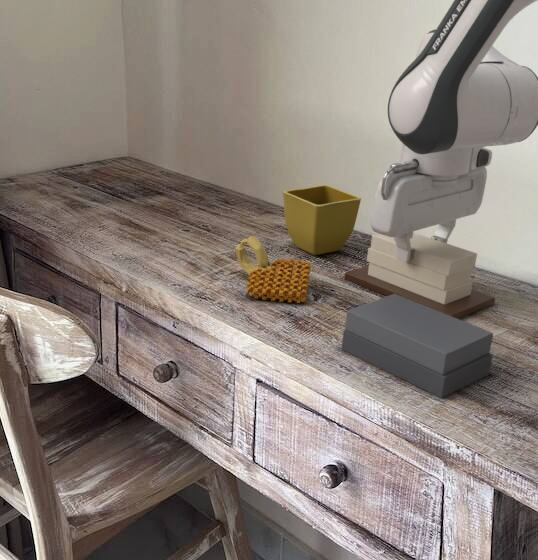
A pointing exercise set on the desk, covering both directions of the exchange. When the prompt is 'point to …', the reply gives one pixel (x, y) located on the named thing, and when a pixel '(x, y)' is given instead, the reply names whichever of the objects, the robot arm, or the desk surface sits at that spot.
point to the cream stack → (420, 285)
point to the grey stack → (418, 344)
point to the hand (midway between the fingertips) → (421, 254)
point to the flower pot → (320, 217)
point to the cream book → (429, 253)
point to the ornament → (273, 274)
